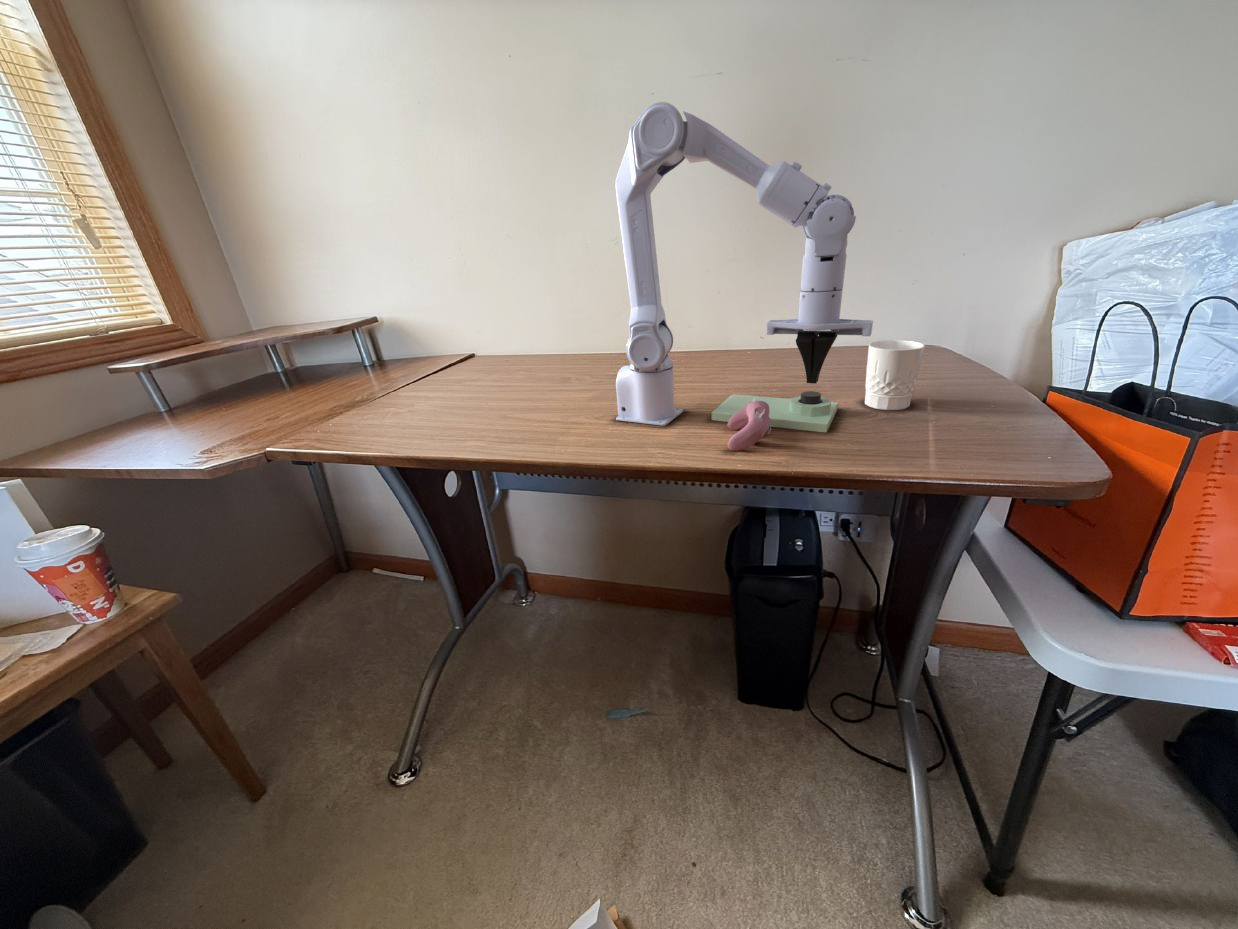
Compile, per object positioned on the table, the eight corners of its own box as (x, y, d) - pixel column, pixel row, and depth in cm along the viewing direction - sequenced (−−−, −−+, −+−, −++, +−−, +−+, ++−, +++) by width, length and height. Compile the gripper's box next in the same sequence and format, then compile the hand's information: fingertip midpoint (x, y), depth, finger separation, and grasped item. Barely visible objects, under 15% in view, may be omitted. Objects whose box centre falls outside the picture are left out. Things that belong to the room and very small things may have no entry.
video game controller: (754, 463, 67) (780, 421, 64) (724, 449, 67) (749, 406, 64) (750, 437, 76) (773, 399, 73) (724, 425, 76) (746, 386, 73)
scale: (711, 420, 80) (711, 403, 79) (731, 401, 88) (732, 385, 87) (826, 433, 71) (828, 414, 70) (837, 410, 80) (839, 393, 79)
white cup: (923, 410, 77) (936, 347, 73) (873, 413, 77) (883, 351, 73) (898, 396, 84) (908, 338, 80) (852, 399, 84) (860, 341, 80)
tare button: (798, 405, 76) (799, 395, 75) (802, 399, 78) (803, 390, 77) (818, 406, 74) (819, 397, 74) (821, 401, 77) (822, 392, 76)
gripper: (879, 285, 69) (866, 377, 74) (776, 288, 76) (771, 372, 81) (875, 290, 63) (861, 390, 69) (765, 293, 70) (760, 383, 76)
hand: (812, 381), depth 75 cm, fingers closed
